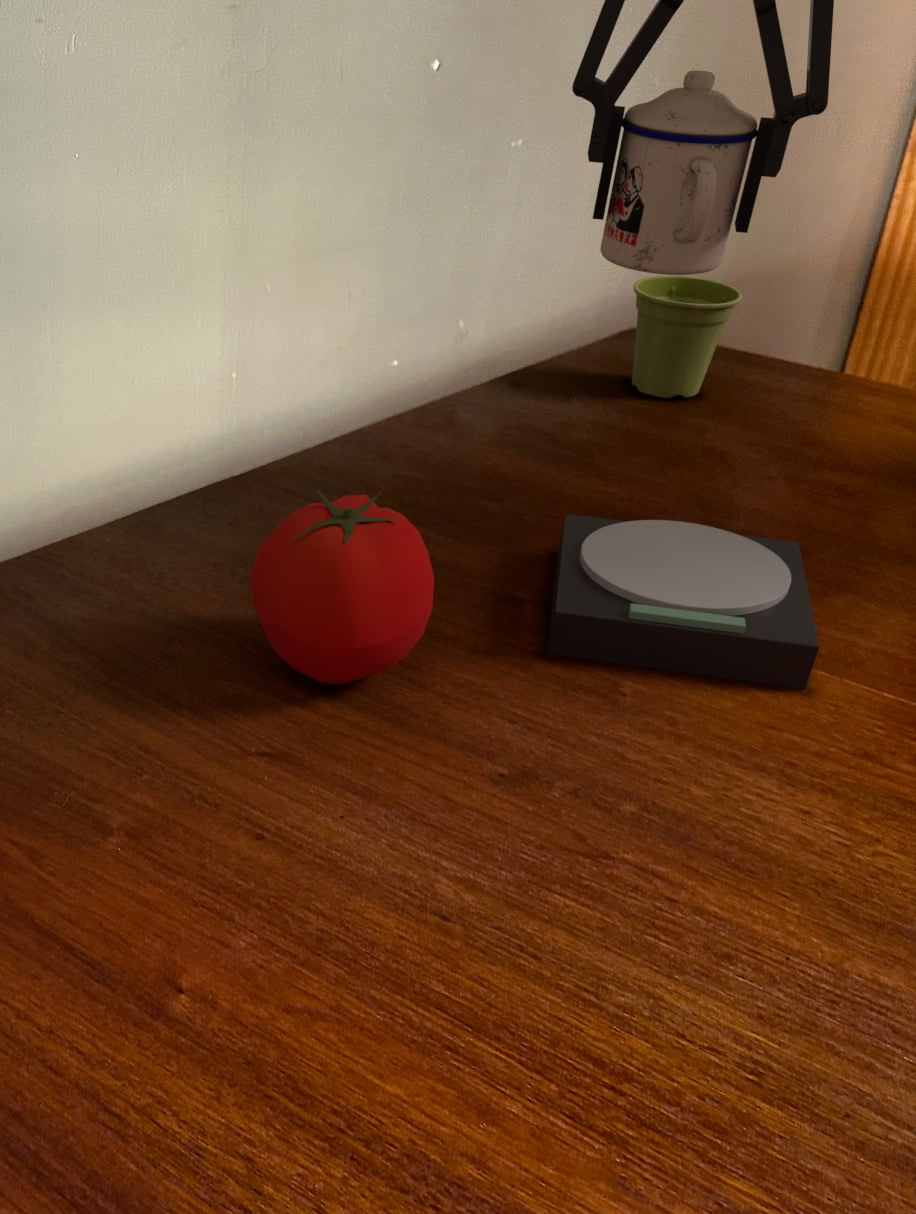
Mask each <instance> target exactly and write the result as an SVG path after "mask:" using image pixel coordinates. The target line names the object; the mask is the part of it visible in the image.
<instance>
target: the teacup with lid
mask: <svg viewBox="0 0 916 1214" xmlns="http://www.w3.org/2000/svg"><path fill="white" fill-rule="evenodd" d="M715 81H716V76H715V74H714V73H713V72H711V71H707V70H689V71H687V72H686V73H685V74H684V78H683V81H682V83H683V86H682V87H674V88H672V89H669V90H667V91H664V92H663V93H662V94H660V95H659V96H657V97H655V98H653V99H652V100H650V101H647V102H642V103H637V104H635V105H632V106H630V107H629V108H628V109H627V110H626V112H624V116H623V121H622V126H621V128H623V130H622V135H621V141H620V146H619V150H618V156H617V160H616V166H615V171H614V172H615V173H614V177H613V182H612V186H611V190H610V191H611V192H610V196H609V197H610V198H609V201H608V202H609V203H608V208H607V213H606V216H605V217H606V218H605V223H604V227H603V234H602V238H601V243H600V248H599V249H600V250H599V251H600V254H601V255H602V257H603V258H604V259H605V260H606V261H607V262H609V263H611V264H614V265H616V266H619V267H622V268H625V269H628V270H633V271H637V272H643V273H649V274H656V275H657V274H658V275H666V276H687V275H688V276H689V275H698V274H699V275H700V274H704V273H709V272H711V271H713V270H715V269H717V268H718V267H720V266H721V265H722V262H723V260H724V257H725V252H726V247H727V244H728V239H729V236H730V232H731V227H732V224H733V219H734V215H735V211H736V207H737V203H738V199H739V196H740V191H741V187H742V183H743V179H744V174H745V170H746V167H747V162H748V158H749V155H750V152H751V151H750V150H751V146H752V142H753V140H754V139H756V136H757V133H758V122H757V119H756V118H755V117H754V115H752V114H751V113H748V112H746V111H743V110H742V109H740V108H739V107H737V106H736V105H735V104H734V103H733V102H732V101H731V100H730V98H729V97H727V96H726V95H725V94H724V93H722V92H720V91H718V90H716V89H715V90H714V89H713V87H714V85H715Z"/></svg>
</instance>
